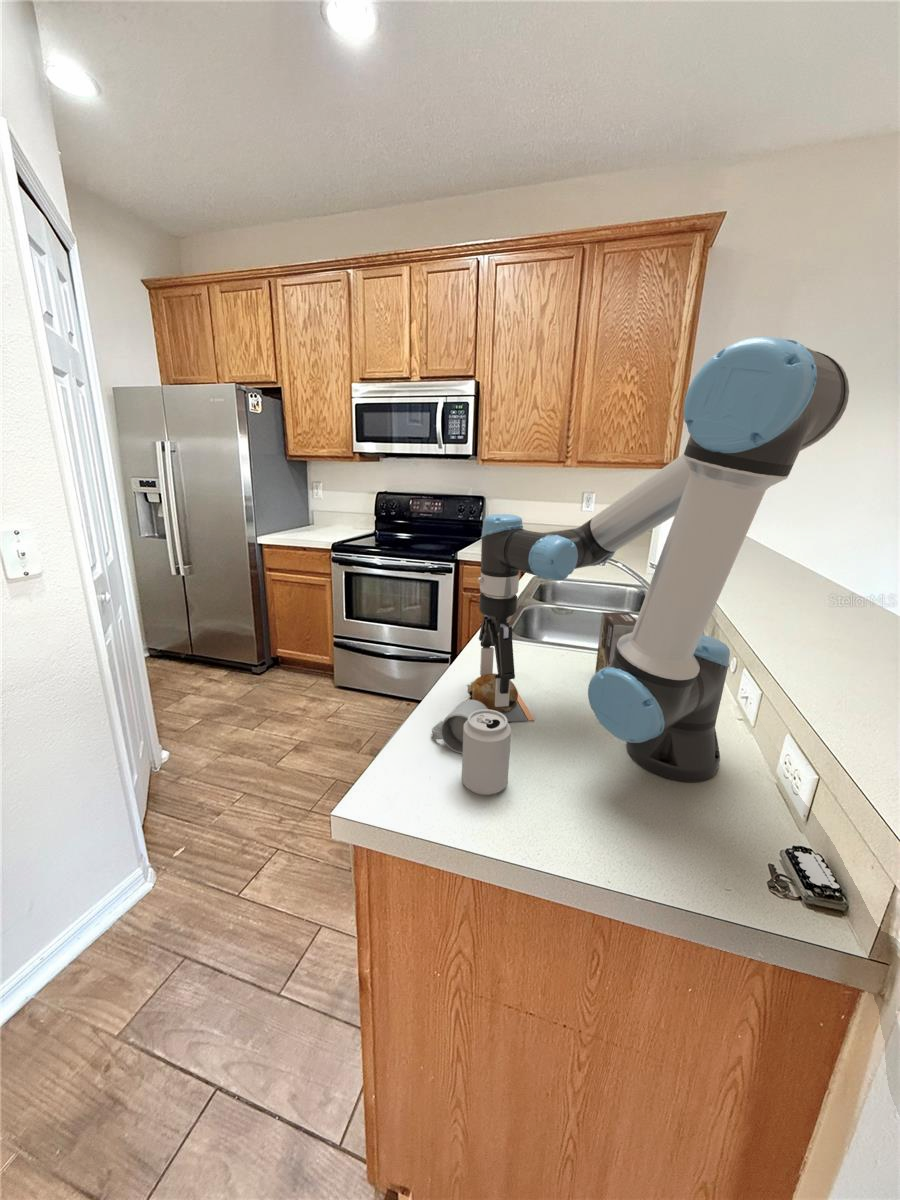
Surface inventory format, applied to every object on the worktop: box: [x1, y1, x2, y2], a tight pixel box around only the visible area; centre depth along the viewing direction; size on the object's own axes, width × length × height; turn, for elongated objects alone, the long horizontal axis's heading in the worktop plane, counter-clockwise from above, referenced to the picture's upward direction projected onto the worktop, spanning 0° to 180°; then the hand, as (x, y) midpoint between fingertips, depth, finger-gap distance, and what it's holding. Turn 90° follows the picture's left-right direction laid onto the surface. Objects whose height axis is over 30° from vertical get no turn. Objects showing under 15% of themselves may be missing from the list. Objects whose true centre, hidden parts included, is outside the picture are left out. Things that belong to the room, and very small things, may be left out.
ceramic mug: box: [431, 699, 488, 755], centre depth 89 cm, size 11×8×8 cm
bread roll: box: [466, 672, 519, 712], centre depth 102 cm, size 10×10×8 cm
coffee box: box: [594, 611, 637, 675], centre depth 111 cm, size 9×6×16 cm
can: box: [461, 709, 512, 796], centre depth 77 cm, size 8×8×12 cm
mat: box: [467, 684, 535, 724], centre depth 104 cm, size 16×10×1 cm, turn 9°
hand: (493, 689), depth 102 cm, fingers open, 13 cm apart
